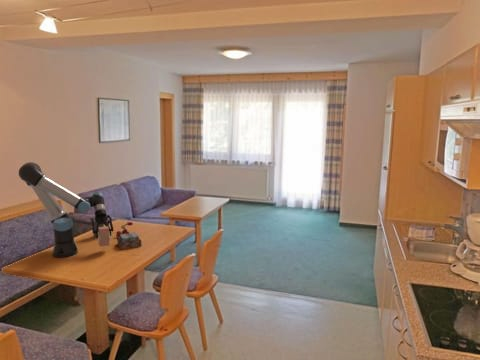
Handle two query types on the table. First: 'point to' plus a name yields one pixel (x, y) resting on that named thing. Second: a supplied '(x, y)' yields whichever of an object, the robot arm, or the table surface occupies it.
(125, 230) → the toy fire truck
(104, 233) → the column brick
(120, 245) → the tower base
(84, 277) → the table surface
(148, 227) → the table surface
